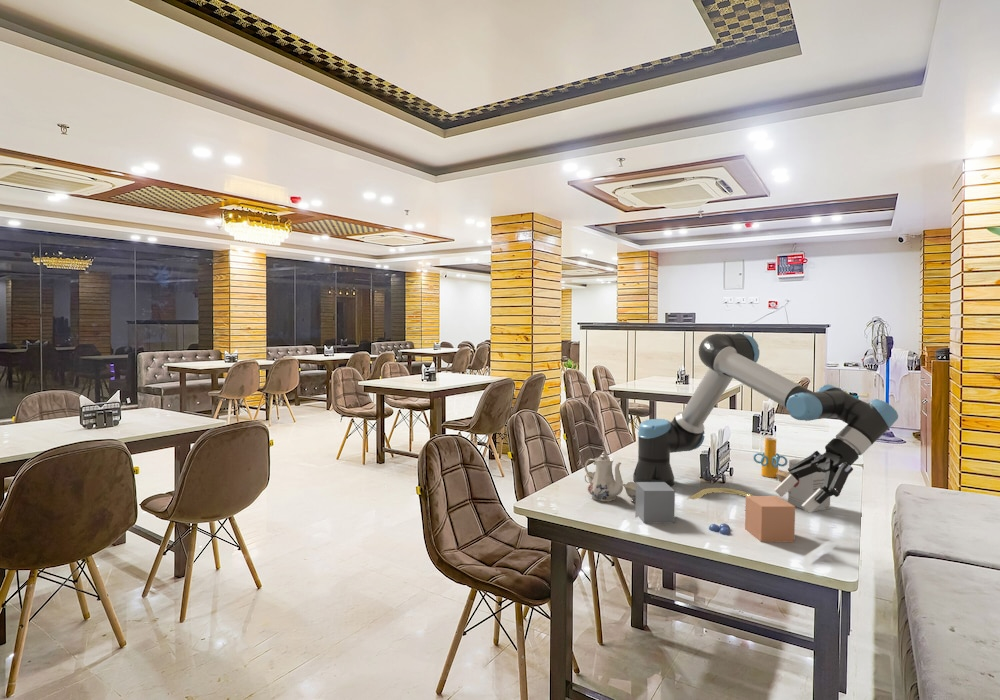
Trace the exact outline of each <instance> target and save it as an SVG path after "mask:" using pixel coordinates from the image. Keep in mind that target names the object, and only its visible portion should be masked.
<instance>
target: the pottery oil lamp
mask: <svg viewBox="0 0 1000 700" xmlns="http://www.w3.org/2000/svg"><path fill="white" fill-rule="evenodd" d="M776 475H777V477H776V478H777V480H778V481H779V482H780V484H781V483H782V482H783V480H785V479H786V477H787V476H788V475H789V471H788V470H781V469H778V473H776Z"/></svg>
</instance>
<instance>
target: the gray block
mask: <svg viewBox="0 0 1000 700" xmlns="http://www.w3.org/2000/svg"><path fill="white" fill-rule="evenodd" d="M635 483H636V502H635V510H634V511H635V512H634V513H635V518H639V519H640V520H641V522H642V523H643V524H675V507H676V506H675V505H676V504H675V501H676V499H675V498H676V497H675V496H676V490H674V489H673V488H672V487H671V486H669V485H668V484H666V483H665V482H635Z"/></svg>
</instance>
